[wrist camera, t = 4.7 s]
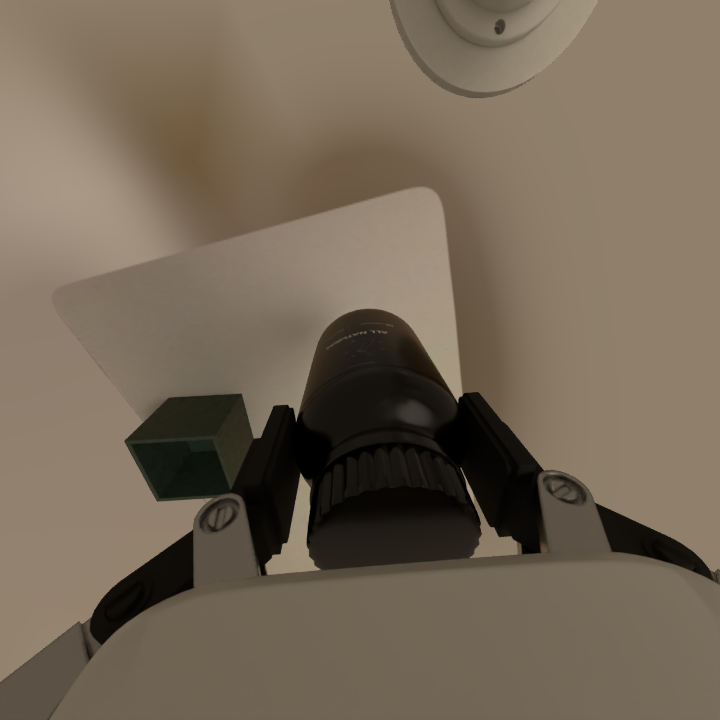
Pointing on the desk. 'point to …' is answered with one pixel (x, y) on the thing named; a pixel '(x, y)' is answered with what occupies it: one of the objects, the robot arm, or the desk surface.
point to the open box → (192, 446)
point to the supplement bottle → (382, 450)
